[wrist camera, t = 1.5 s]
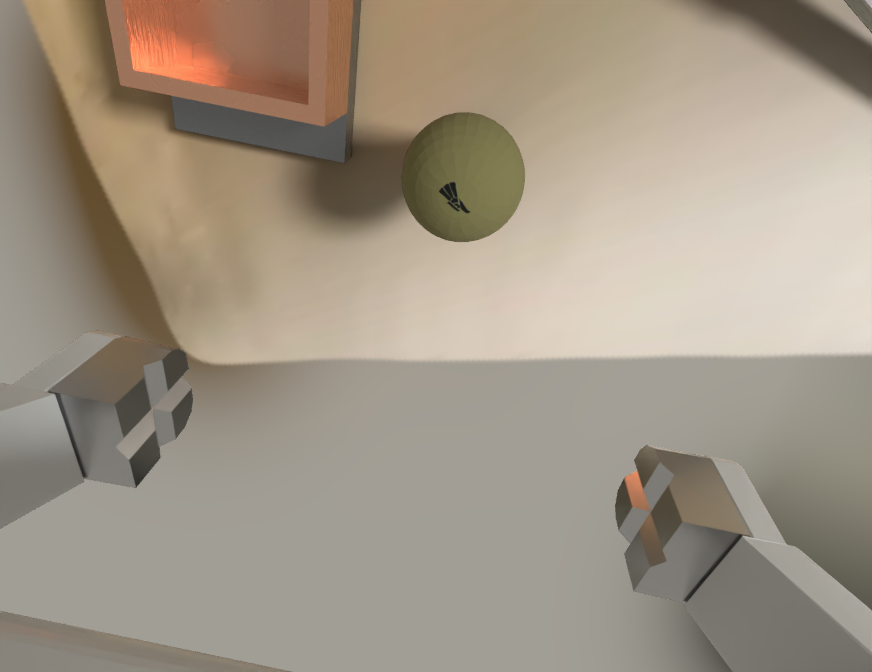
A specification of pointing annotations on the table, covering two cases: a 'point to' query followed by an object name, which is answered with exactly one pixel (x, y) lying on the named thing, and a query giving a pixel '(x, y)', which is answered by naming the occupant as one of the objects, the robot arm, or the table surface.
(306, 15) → the desk organizer
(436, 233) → the light bulb
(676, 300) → the table surface
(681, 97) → the table surface
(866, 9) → the caliper
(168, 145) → the table surface
